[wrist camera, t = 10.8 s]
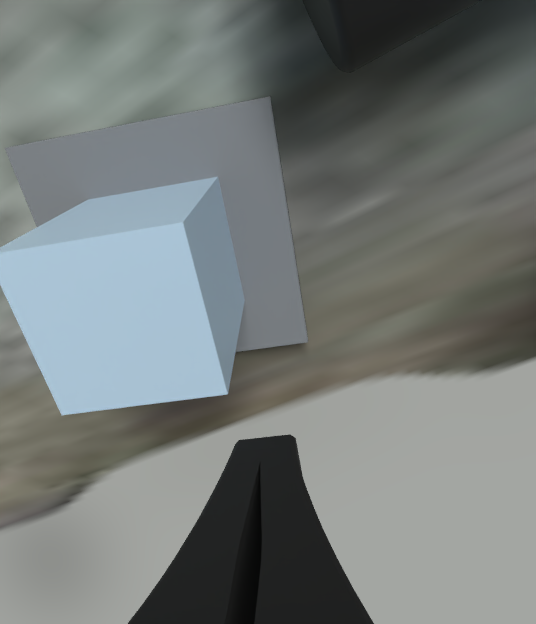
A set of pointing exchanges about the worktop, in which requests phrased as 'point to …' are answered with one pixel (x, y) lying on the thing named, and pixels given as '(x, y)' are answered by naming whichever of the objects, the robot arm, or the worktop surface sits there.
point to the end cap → (374, 25)
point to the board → (185, 168)
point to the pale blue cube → (130, 297)
